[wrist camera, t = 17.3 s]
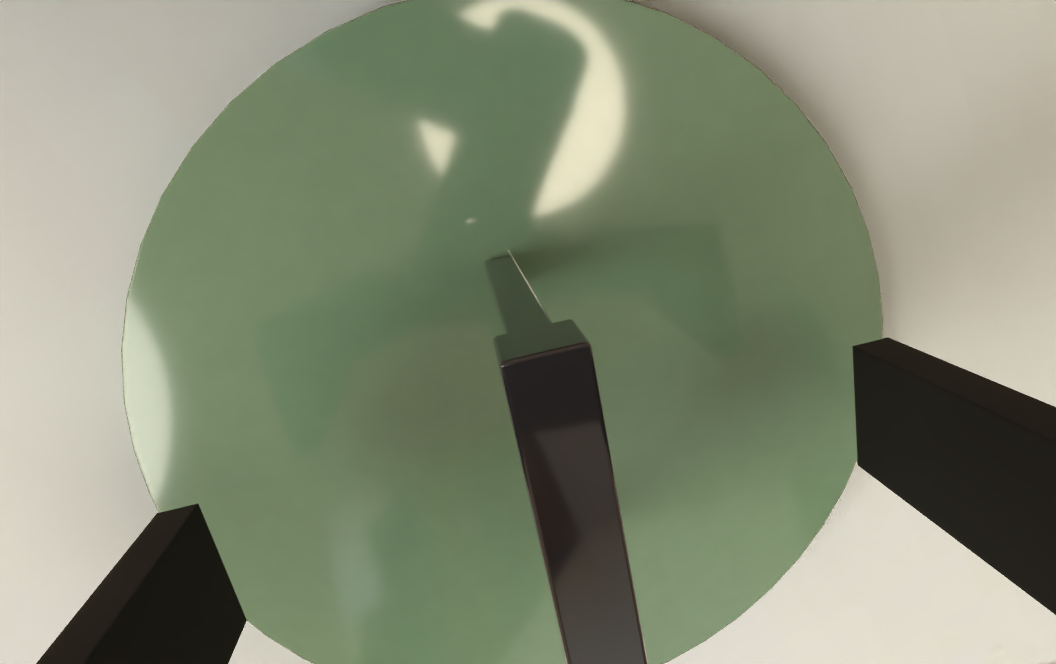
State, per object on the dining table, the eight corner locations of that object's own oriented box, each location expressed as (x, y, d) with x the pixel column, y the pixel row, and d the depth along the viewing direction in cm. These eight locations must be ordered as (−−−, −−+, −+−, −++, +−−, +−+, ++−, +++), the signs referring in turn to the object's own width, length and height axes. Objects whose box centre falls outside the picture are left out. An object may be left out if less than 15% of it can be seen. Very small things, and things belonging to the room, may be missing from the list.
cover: (839, -75, 14) (1376, -381, 6) (865, 585, 20) (1160, 892, 12) (7, 88, 13) (-734, -15, 5) (284, 738, 19) (156, 1199, 11)
